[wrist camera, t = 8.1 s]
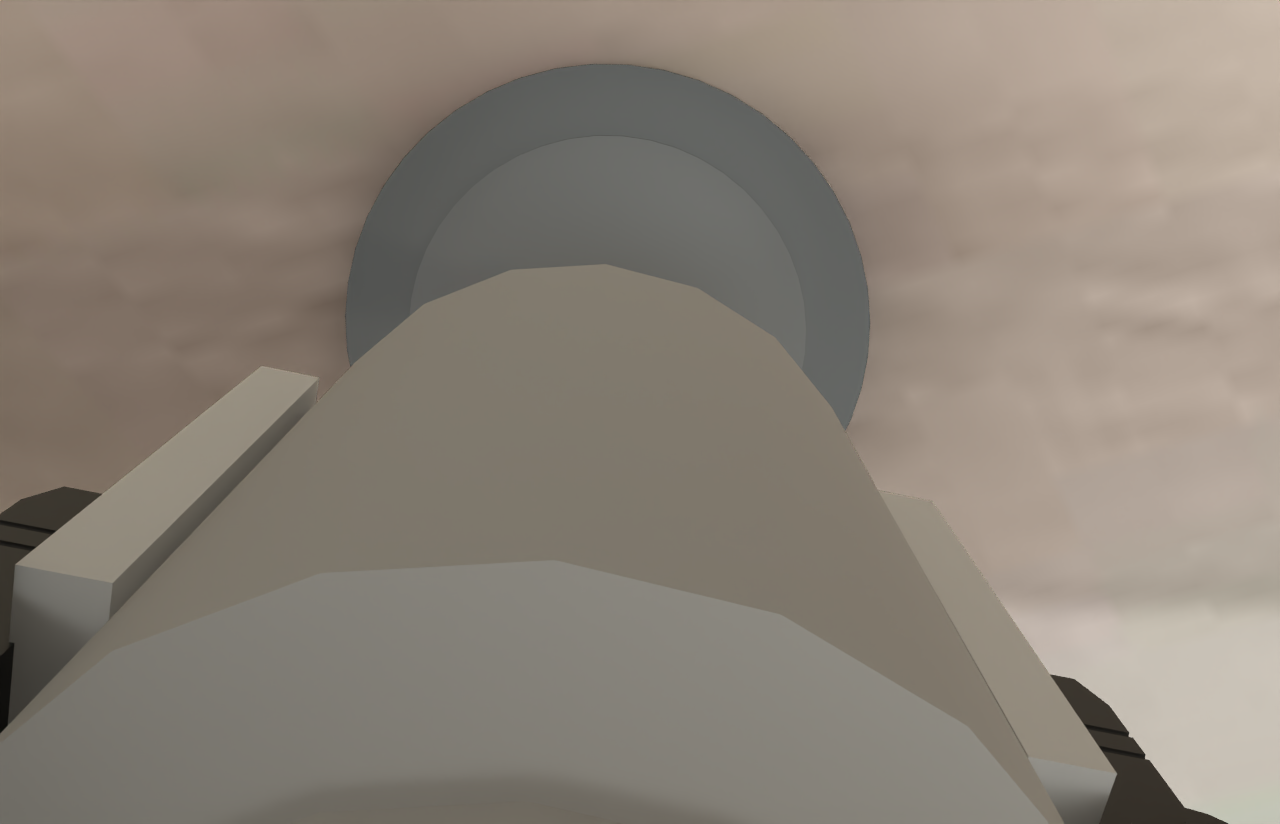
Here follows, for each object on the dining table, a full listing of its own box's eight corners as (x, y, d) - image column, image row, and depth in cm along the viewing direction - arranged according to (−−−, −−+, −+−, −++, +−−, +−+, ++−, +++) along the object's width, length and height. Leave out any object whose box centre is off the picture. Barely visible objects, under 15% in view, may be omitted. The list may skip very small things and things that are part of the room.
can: (426, 159, 16) (-169, 423, 4) (949, 386, 16) (1669, 1140, 5) (239, 648, 18) (-531, 1772, 6) (716, 831, 18) (847, 2129, 7)
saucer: (319, 513, 30) (308, 529, 29) (396, 11, 27) (385, 9, 26) (794, 606, 31) (800, 625, 30) (923, 127, 28) (934, 129, 27)
